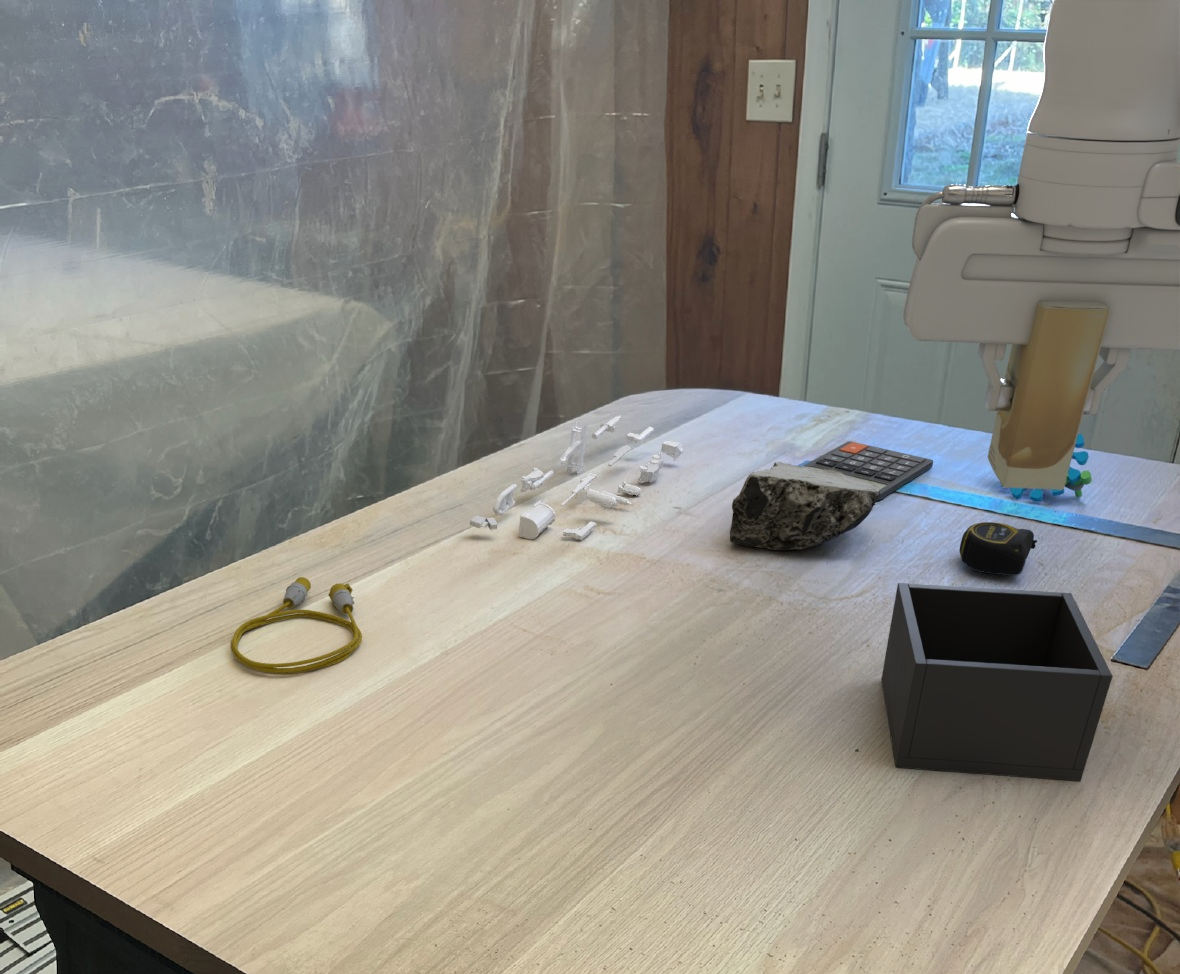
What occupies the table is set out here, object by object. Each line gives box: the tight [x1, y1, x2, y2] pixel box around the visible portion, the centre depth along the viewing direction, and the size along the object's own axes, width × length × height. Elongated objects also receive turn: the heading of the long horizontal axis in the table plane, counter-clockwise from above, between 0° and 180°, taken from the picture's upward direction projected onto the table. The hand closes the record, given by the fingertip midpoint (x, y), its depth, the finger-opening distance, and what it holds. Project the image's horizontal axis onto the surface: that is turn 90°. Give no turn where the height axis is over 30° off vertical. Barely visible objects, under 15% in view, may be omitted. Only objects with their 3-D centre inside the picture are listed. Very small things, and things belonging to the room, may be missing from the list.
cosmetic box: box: [987, 301, 1110, 490], centre depth 79 cm, size 6×4×12 cm
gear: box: [998, 433, 1093, 503], centre depth 134 cm, size 11×6×10 cm
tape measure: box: [958, 521, 1038, 576], centre depth 116 cm, size 7×7×4 cm
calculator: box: [802, 441, 934, 501], centre depth 139 cm, size 12×1×15 cm
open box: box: [881, 582, 1113, 782], centre depth 89 cm, size 14×14×9 cm
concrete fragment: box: [729, 461, 880, 551], centre depth 121 cm, size 15×10×15 cm
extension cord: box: [230, 576, 363, 675], centre depth 104 cm, size 12×16×2 cm
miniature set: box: [469, 414, 684, 541], centre depth 132 cm, size 6×35×12 cm
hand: (1039, 410), depth 79 cm, fingers closed on cosmetic box, 4 cm apart
